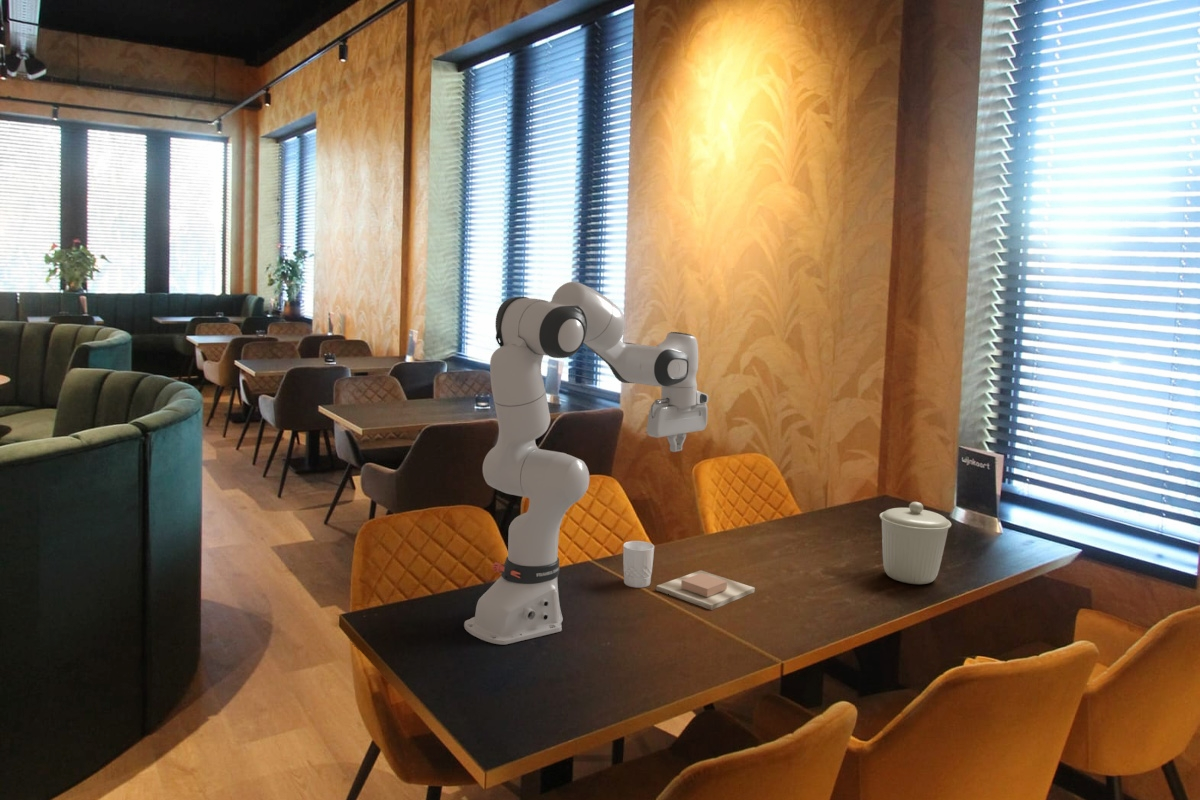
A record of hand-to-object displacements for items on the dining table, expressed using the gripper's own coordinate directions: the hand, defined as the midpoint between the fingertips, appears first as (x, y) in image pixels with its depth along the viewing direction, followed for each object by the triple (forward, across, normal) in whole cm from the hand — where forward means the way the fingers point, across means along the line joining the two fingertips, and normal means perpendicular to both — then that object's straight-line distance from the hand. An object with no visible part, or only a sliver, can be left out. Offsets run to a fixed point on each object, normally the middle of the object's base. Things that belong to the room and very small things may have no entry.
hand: (675, 451), depth 215 cm
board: (+34, +1, -11) cm, 36 cm away
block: (+32, +3, -12) cm, 34 cm away
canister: (+34, +52, -41) cm, 75 cm away
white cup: (+34, -8, +4) cm, 35 cm away
